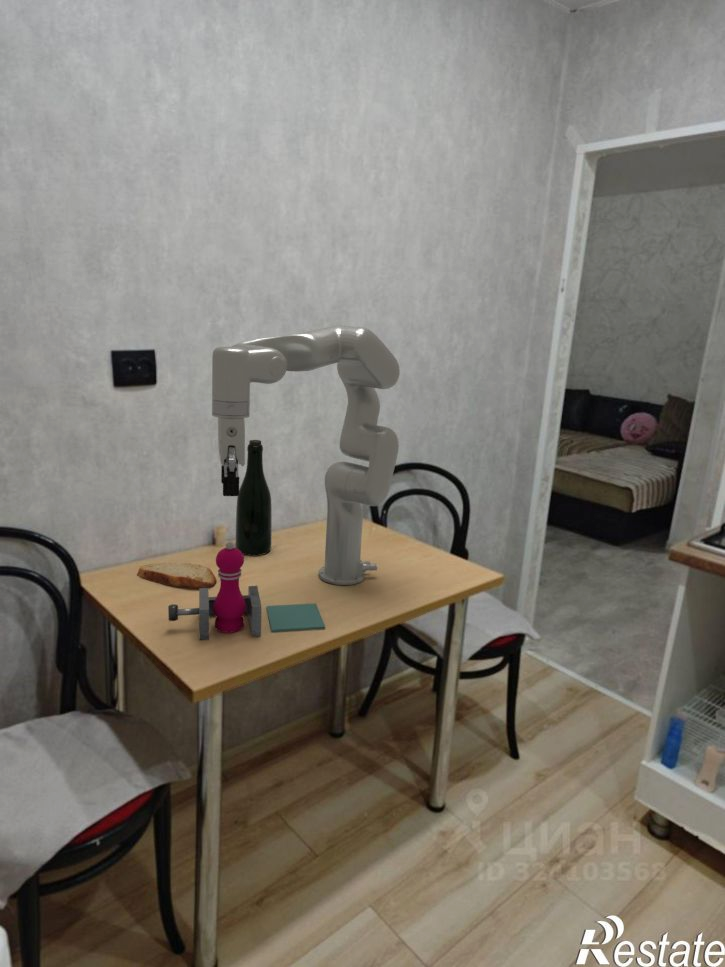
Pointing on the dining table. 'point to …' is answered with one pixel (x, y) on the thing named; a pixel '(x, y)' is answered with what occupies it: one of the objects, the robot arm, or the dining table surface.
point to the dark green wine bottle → (254, 506)
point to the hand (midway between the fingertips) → (229, 489)
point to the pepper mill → (229, 591)
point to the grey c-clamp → (207, 610)
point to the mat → (294, 617)
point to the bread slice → (179, 575)
